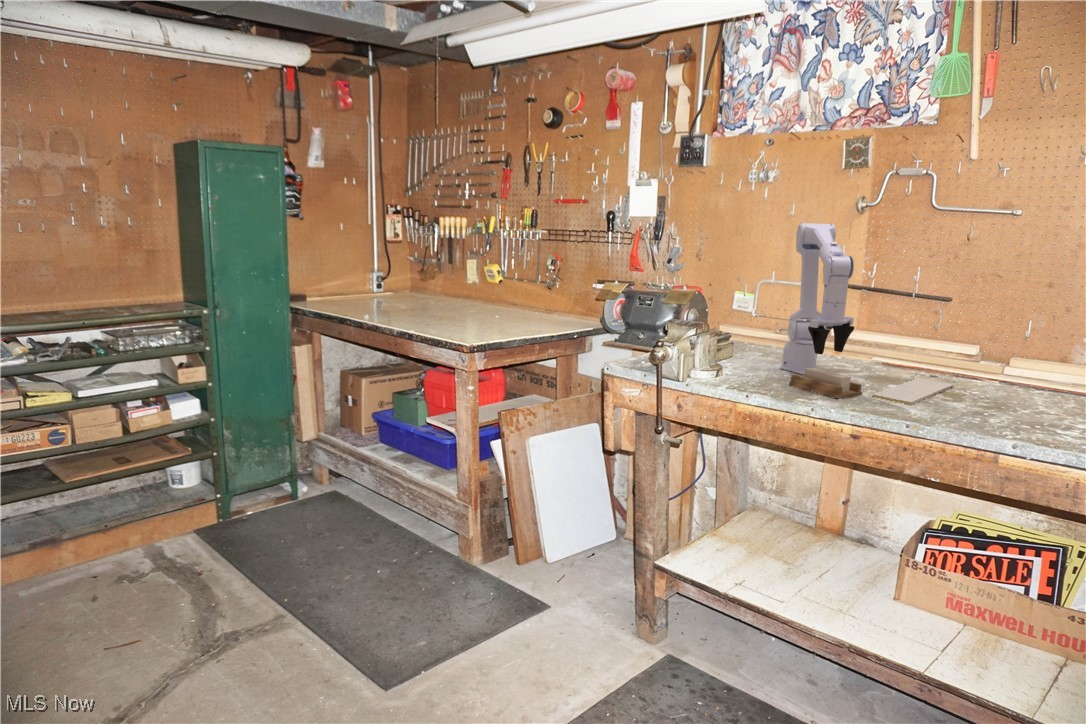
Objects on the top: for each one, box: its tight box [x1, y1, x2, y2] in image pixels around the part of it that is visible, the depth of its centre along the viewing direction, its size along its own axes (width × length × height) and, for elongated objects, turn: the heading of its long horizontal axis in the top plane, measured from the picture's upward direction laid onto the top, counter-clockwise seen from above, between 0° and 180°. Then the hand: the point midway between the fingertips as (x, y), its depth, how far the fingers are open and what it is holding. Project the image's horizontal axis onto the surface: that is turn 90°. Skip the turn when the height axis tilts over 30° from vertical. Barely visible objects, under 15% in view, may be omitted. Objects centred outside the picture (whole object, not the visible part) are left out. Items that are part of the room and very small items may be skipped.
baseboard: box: [868, 373, 956, 406], centre depth 187 cm, size 31×3×12 cm
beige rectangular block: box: [803, 367, 852, 392], centre depth 185 cm, size 12×4×4 cm, turn 28°
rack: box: [788, 373, 863, 399], centre depth 186 cm, size 16×9×3 cm, turn 28°
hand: (828, 352), depth 184 cm, fingers open, 7 cm apart
